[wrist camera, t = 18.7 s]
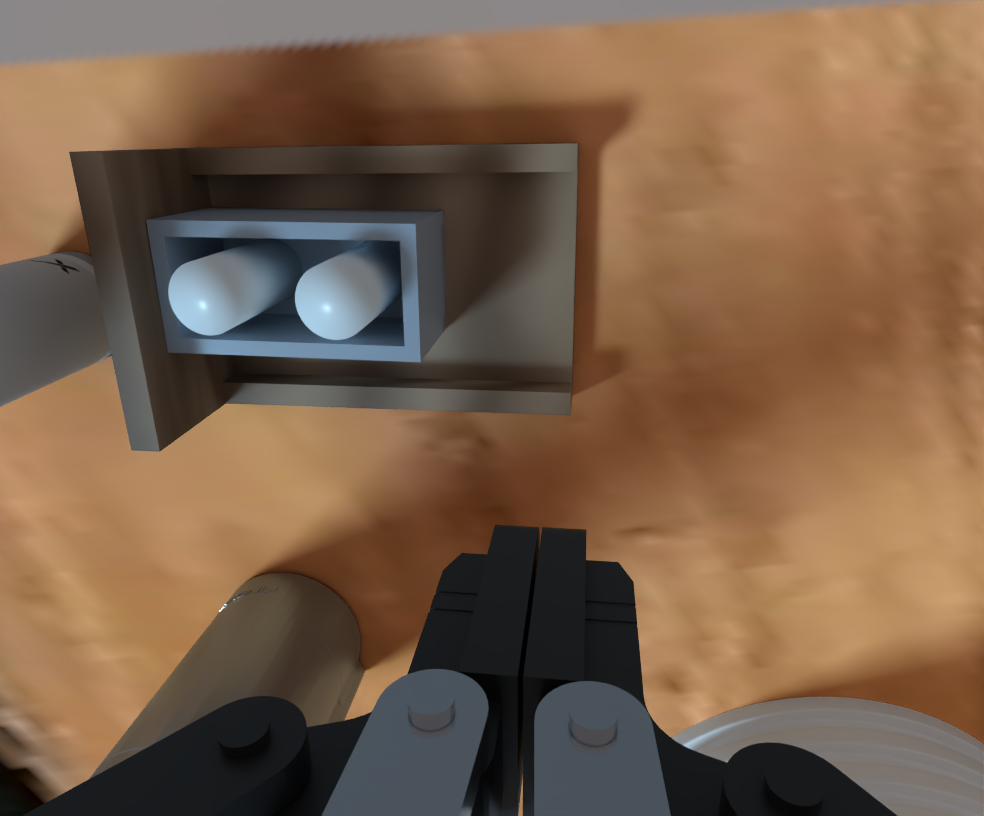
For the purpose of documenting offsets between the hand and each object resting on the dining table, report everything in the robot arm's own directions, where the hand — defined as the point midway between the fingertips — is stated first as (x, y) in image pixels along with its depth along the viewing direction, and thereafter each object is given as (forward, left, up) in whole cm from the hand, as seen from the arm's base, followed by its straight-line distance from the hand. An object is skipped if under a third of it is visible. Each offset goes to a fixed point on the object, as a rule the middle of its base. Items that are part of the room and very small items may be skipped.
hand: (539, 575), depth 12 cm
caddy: (+6, +11, -26) cm, 29 cm away
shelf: (+4, +9, -27) cm, 29 cm away
